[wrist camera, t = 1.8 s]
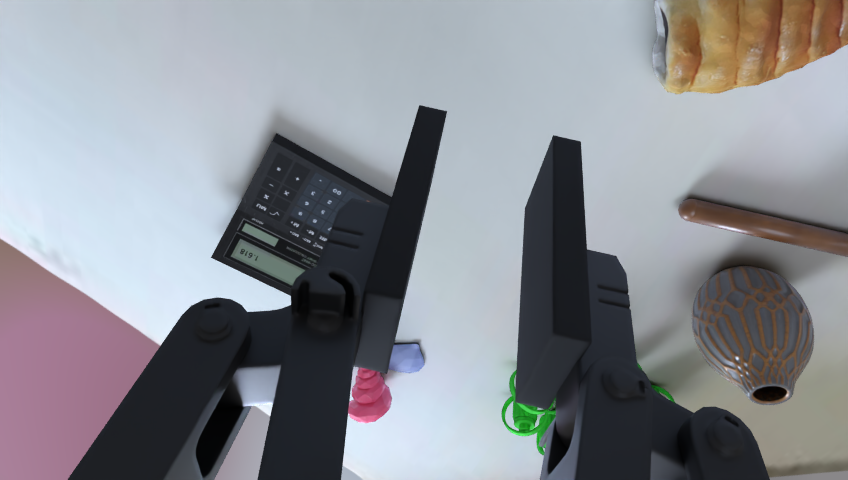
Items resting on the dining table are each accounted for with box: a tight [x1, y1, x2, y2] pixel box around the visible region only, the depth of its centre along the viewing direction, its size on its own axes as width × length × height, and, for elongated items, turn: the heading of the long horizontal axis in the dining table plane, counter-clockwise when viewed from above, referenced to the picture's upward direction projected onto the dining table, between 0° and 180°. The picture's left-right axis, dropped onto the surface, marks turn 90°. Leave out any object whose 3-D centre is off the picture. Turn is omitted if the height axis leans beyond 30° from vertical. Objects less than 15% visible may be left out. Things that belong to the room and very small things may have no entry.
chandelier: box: [502, 363, 675, 455], centre depth 51 cm, size 15×15×7 cm
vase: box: [692, 266, 814, 405], centre depth 38 cm, size 7×7×9 cm
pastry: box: [652, 0, 848, 94], centre depth 27 cm, size 9×7×4 cm
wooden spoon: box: [678, 199, 848, 257], centre depth 36 cm, size 19×5×1 cm, turn 80°
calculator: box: [211, 134, 392, 296], centre depth 42 cm, size 9×12×3 cm
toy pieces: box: [348, 344, 424, 423], centre depth 53 cm, size 12×11×4 cm
